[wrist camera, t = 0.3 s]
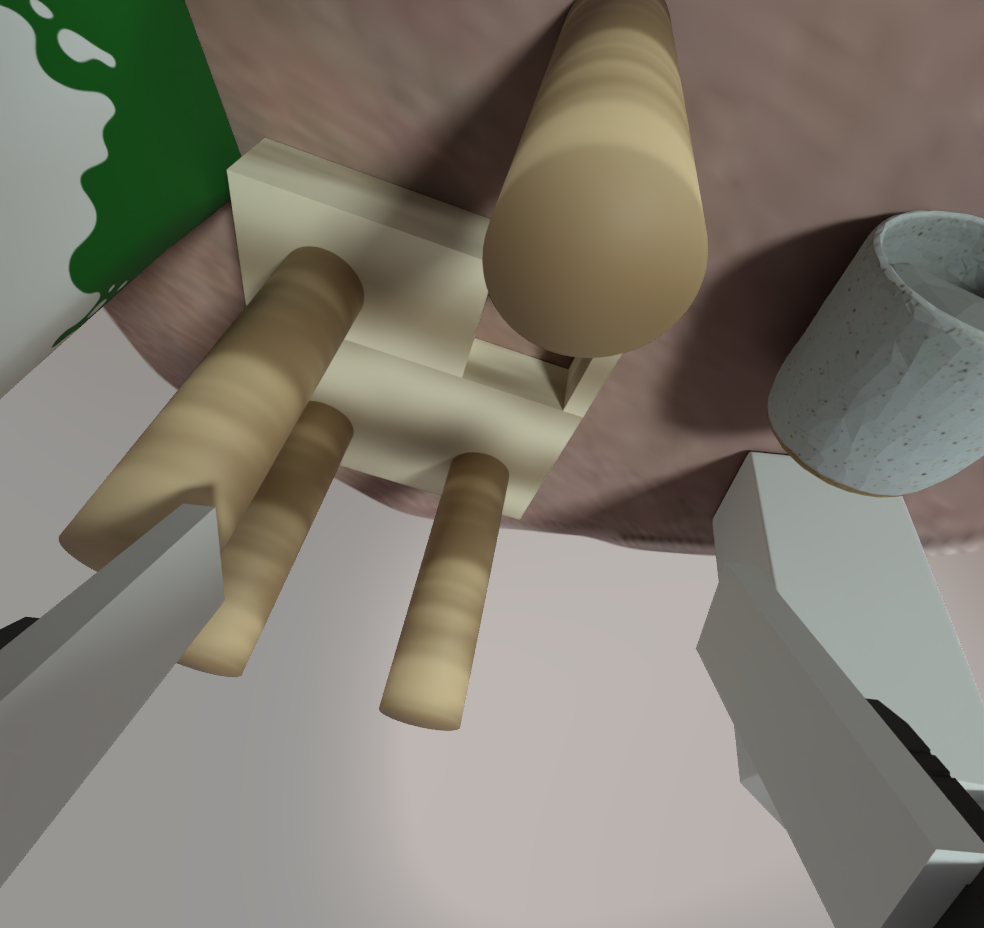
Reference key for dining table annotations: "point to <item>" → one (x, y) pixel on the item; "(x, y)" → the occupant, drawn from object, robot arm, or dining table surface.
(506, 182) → the loose leg
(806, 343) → the ceramic mug
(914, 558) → the milk carton
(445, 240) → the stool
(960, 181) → the dining table surface
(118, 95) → the soya milk
